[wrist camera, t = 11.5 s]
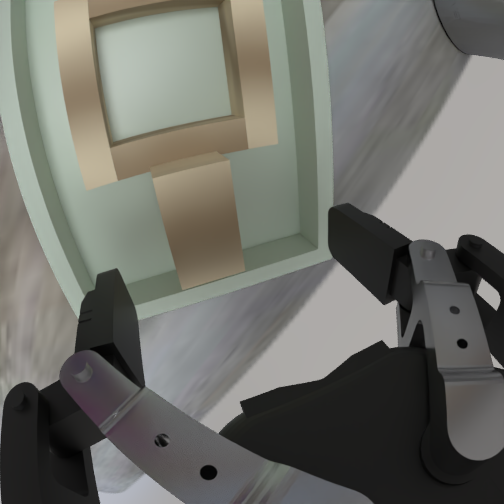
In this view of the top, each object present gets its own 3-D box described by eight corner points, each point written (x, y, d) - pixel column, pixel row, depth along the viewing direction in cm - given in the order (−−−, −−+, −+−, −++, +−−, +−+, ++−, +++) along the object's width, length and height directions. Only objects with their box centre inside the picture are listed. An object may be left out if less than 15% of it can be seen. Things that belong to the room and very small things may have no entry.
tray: (280, -57, 10) (306, -76, 8) (307, 237, 21) (331, 258, 18) (13, -14, 6) (-6, -30, 4) (90, 302, 17) (87, 334, 15)
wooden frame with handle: (63, 12, 8) (41, -12, 5) (243, -18, 11) (277, -45, 7) (120, 263, 16) (120, 308, 13) (269, 221, 18) (303, 253, 15)
